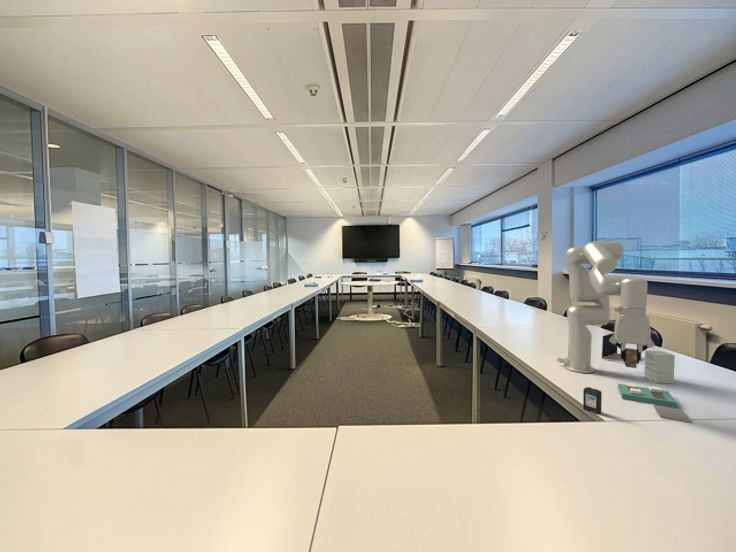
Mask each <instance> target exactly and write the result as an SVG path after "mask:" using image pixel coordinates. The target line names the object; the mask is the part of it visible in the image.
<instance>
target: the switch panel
mask: <svg viewBox="0 0 736 552" xmlns="http://www.w3.org/2000/svg"><path fill="white" fill-rule="evenodd" d="M630 388H633V389H640V390H641V395H640V394H633V393H631V392H630ZM617 390H618V392H619V395H620V398H621V399H622V400H627V401H633V402H639V403H645V404H652V405H657V406H663V407H669V408H674V409H678V402H677V401H676V399H675V398H674V397H673V395H672V394H671V393H670V391H669V390H664V389H663V390H662V389H661V393H658V392H652V391H650V387H643V386H636V385H630V384H624V383H623V384H622V383H617Z"/></svg>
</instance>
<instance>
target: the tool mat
mask: <svg viewBox="0 0 736 552" xmlns="http://www.w3.org/2000/svg"><path fill="white" fill-rule="evenodd" d="M652 405H653V408H654V410H655V411H656V412H657V414H658V416H659V418H662V419H667V420H672V419H673V421H678V420H679V422H683V421H685V423H689V422H691V423H690V424H693V421H692V420H691V419H690V418H689V416H688V415H687V414H686V413H685V411H684V410H683V409H679V408H673V407H668V406H662V405H656V404H652Z"/></svg>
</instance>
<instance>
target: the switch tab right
mask: <svg viewBox="0 0 736 552" xmlns="http://www.w3.org/2000/svg"><path fill="white" fill-rule="evenodd" d="M649 388H650V391H652V392H658V393H661V390H662V389H661V388H660V387H657V386H651V385H650V386H649Z"/></svg>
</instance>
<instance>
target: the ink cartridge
mask: <svg viewBox="0 0 736 552" xmlns="http://www.w3.org/2000/svg"><path fill="white" fill-rule="evenodd" d="M582 393H583V396H582V397H583V398H582V399H583V400H582V402H583V403H582V405H583V408H582V409H583V410H585V411H587V412H590V413H593V414H597V415H598V414H600V413H602V402H603V401H602V395H603V394H602V390H599V389H597V388H593V387H590V386H587V387H584V388H583V392H582Z"/></svg>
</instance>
